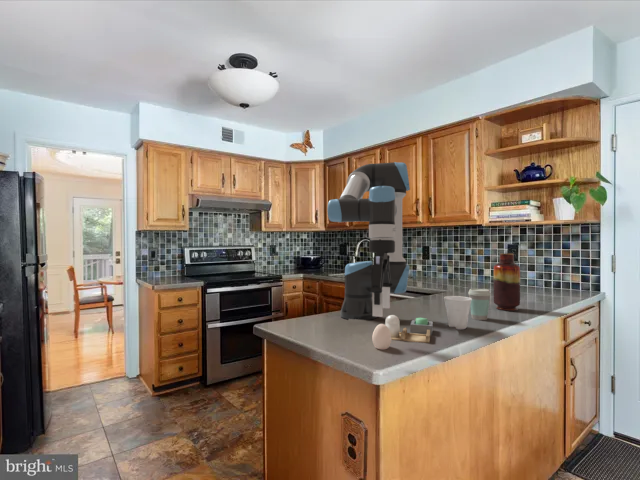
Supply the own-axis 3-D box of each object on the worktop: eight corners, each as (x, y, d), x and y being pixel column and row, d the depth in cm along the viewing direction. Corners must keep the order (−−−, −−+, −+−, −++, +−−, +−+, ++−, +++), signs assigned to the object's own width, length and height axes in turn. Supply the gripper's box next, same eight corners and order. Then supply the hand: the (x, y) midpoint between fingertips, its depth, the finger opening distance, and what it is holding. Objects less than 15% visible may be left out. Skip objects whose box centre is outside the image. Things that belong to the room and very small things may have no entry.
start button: (415, 332, 121) (415, 319, 121) (416, 330, 125) (416, 317, 125) (427, 334, 120) (427, 320, 120) (428, 331, 123) (428, 318, 123)
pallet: (377, 341, 114) (377, 331, 114) (381, 334, 122) (381, 325, 122) (429, 346, 109) (429, 336, 109) (430, 338, 117) (430, 329, 117)
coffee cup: (486, 316, 151) (486, 288, 151) (494, 321, 142) (494, 291, 142) (465, 316, 152) (465, 288, 152) (471, 320, 143) (472, 291, 143)
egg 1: (372, 353, 102) (372, 325, 102) (372, 347, 107) (372, 321, 107) (391, 354, 101) (391, 326, 101) (391, 348, 107) (391, 322, 107)
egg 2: (384, 337, 115) (384, 315, 115) (386, 333, 120) (386, 313, 120) (398, 338, 114) (398, 316, 114) (400, 334, 118) (400, 314, 118)
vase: (498, 306, 175) (498, 253, 175) (523, 309, 167) (523, 253, 167) (490, 309, 167) (490, 253, 167) (516, 312, 159) (516, 254, 159)
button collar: (410, 336, 120) (410, 324, 120) (412, 331, 127) (412, 319, 127) (432, 338, 118) (432, 326, 118) (432, 332, 124) (432, 321, 124)
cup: (471, 325, 135) (471, 296, 135) (473, 332, 126) (473, 301, 126) (443, 323, 138) (443, 295, 138) (443, 329, 129) (443, 299, 129)
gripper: (388, 238, 91) (388, 321, 91) (399, 239, 115) (399, 305, 115) (359, 238, 94) (359, 319, 93) (376, 239, 117) (376, 304, 117)
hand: (381, 312), depth 104 cm, fingers open, 13 cm apart
